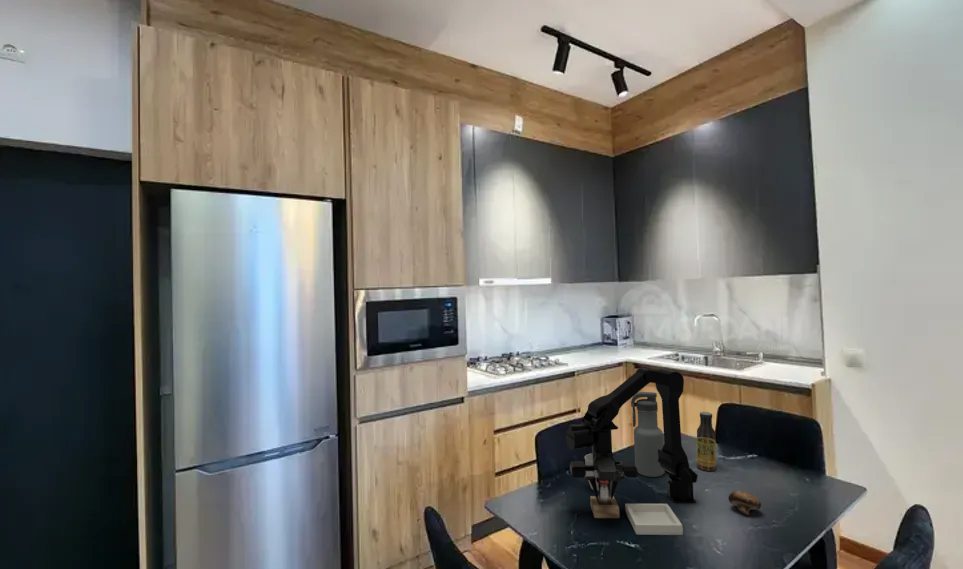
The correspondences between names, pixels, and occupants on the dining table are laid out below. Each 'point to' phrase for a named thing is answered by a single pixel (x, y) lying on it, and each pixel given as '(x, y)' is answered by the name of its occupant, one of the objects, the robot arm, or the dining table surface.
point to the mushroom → (744, 501)
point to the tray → (653, 519)
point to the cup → (590, 462)
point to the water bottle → (647, 435)
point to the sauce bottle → (706, 443)
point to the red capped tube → (603, 491)
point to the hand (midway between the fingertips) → (604, 498)
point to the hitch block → (604, 508)
